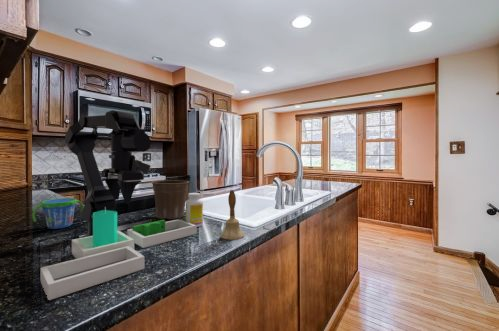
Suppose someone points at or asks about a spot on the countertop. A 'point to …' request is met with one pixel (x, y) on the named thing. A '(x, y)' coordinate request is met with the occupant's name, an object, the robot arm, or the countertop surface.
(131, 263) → the grey rectangular frame
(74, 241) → the bin
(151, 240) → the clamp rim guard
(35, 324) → the countertop surface
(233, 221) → the hand bell
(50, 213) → the snack cup
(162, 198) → the plant pot
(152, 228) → the pipe clamp
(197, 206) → the supplement bottle
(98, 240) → the candle
